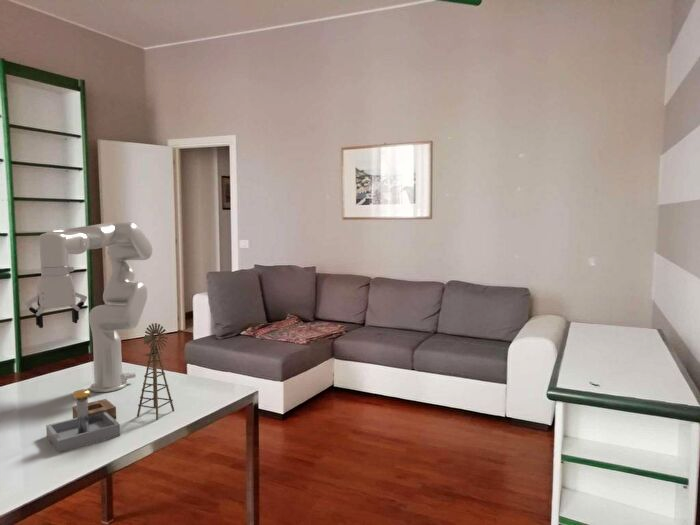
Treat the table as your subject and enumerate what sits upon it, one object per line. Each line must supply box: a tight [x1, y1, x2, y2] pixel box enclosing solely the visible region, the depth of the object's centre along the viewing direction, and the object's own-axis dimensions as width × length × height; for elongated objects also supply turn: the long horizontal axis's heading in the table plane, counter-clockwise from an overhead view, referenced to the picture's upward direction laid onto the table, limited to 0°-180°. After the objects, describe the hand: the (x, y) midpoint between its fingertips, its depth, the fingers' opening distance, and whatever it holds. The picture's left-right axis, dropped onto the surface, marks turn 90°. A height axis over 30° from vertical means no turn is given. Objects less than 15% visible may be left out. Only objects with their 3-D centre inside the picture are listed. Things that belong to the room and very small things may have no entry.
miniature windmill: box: [136, 322, 175, 421], centre depth 157 cm, size 9×8×30 cm
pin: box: [73, 388, 91, 434], centre depth 141 cm, size 4×4×12 cm
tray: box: [45, 412, 121, 453], centre depth 142 cm, size 16×14×3 cm
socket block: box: [71, 398, 117, 424], centre depth 154 cm, size 10×10×4 cm
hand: (58, 324), depth 154 cm, fingers open, 9 cm apart
